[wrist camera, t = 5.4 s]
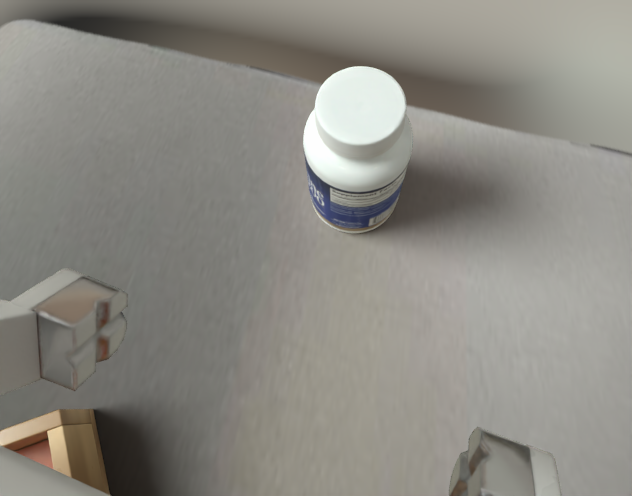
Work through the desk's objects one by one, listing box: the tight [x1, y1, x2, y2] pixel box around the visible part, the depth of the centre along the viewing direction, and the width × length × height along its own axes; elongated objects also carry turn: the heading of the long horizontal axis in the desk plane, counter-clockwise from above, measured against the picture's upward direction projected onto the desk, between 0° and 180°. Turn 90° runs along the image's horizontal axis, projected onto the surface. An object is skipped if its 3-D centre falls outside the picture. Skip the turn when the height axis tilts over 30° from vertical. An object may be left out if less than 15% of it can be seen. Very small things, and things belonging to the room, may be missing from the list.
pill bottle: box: [303, 66, 413, 233], centre depth 26 cm, size 5×5×10 cm
